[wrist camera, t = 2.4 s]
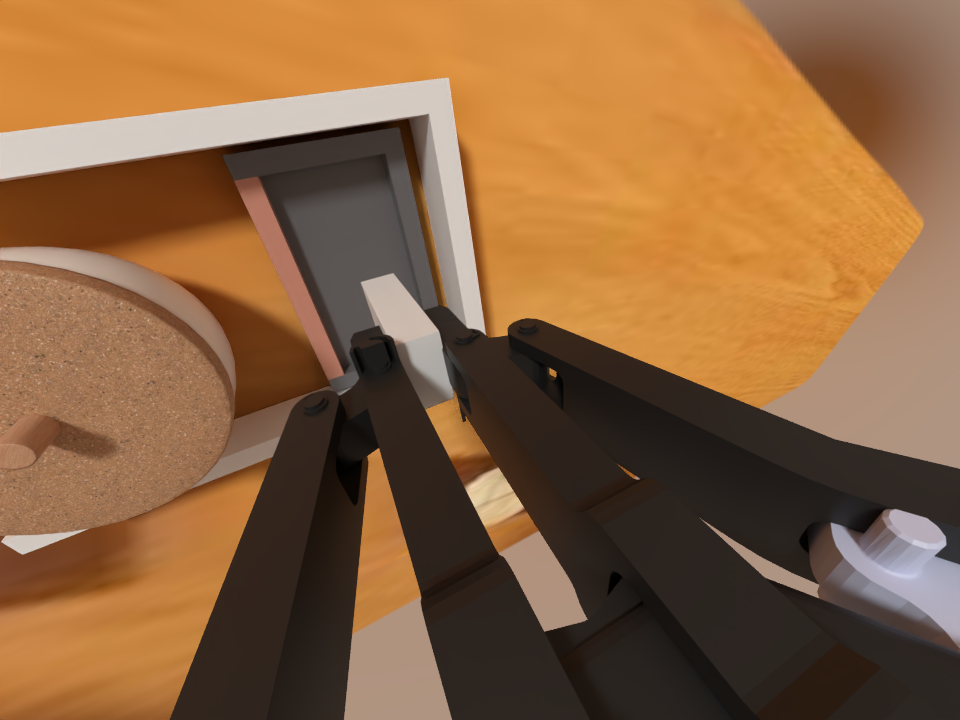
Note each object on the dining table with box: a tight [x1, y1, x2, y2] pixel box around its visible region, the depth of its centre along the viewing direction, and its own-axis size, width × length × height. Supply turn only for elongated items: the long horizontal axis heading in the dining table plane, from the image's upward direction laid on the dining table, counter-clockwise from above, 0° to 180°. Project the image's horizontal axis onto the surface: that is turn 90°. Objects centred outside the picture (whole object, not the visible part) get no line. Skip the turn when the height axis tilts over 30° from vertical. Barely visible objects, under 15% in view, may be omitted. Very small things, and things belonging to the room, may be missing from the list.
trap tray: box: [222, 127, 438, 392], centre depth 21 cm, size 8×13×2 cm, turn 9°
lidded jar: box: [0, 246, 236, 536], centre depth 14 cm, size 11×11×9 cm
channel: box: [0, 78, 486, 555], centre depth 18 cm, size 26×16×4 cm, turn 99°
